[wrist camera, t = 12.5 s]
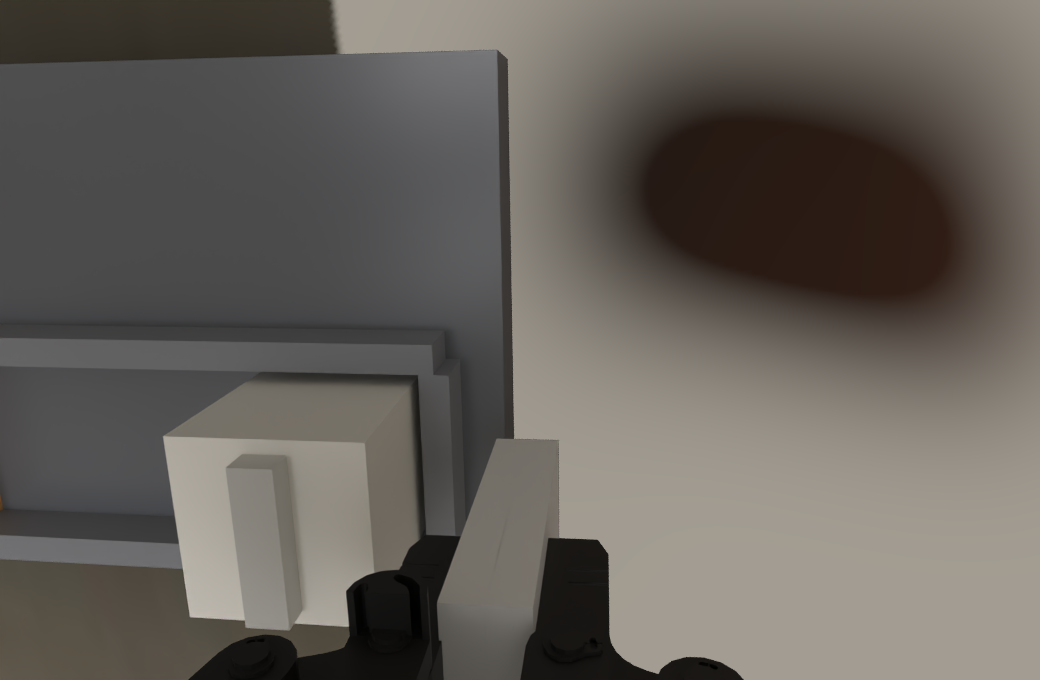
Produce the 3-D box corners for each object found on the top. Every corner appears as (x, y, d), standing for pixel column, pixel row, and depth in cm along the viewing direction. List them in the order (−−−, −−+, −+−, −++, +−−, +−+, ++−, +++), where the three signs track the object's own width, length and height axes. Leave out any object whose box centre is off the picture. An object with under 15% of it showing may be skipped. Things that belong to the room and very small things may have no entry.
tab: (266, 368, 20) (143, 449, 15) (422, 371, 20) (353, 456, 15) (282, 512, 22) (172, 637, 16) (429, 519, 21) (368, 649, 16)
